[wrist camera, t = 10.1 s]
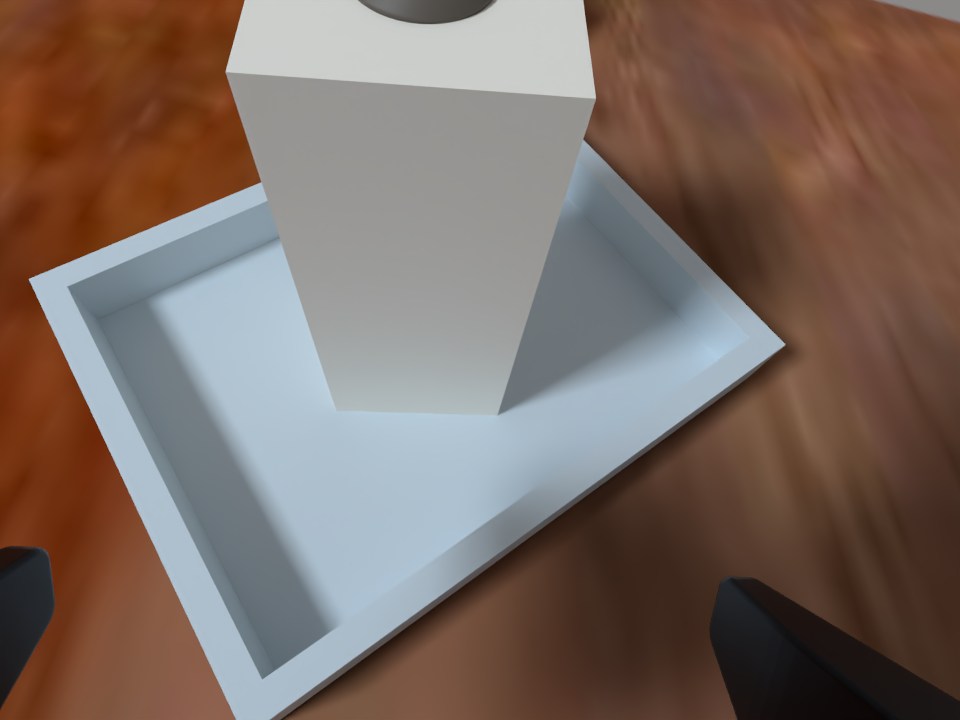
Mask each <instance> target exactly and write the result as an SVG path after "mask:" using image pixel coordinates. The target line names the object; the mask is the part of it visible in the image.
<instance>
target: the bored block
mask: <svg viewBox="0 0 960 720" xmlns="http://www.w3.org/2000/svg"><path fill="white" fill-rule="evenodd" d="M226 75H227V78H228V81H229V84H230V87H231V90H232V93H233V96H234V99H235V102H236V105H237V109H238V112H239V115H240V118H241V121H242V124H243V127H244V130H245V133H246V136H247V139H248V142H249V145H250V148H251V151H252V154H253V158H254V161H255V164H256V167H257V170H258V173H259V176H260V179H261V182H262V185H263V188H264V191H265V194H266V197H267V200H268V204H269V207H270V210H271V213H272V216H273V219H274V222H275V225H276V228H277V231H278V234H279V237H280V240H281V243H282V246H283V249H284V253H285V256H286V259H287V262H288V265H289V268H290V271H291V274H292V277H293V280H294V283H295V286H296V289H297V292H298V295H299V299H300V302H301V305H302V308H303V311H304V314H305V317H306V320H307V323H308V326H309V329H310V332H311V335H312V338H313V341H314V344H315V348H316V351H317V354H318V357H319V360H320V363H321V366H322V369H323V372H324V375H325V378H326V381H327V384H328V387H329V390H330V394H331V397H332V400H333V403H334V406H335V409H336V411H362V412H397V413H432V414H467V415H498V412H499V409H500V406H501V402H502V399H503V396H504V393H505V389H506V386H507V383H508V380H509V377H510V373H511V370H512V367H513V364H514V361H515V357H516V354H517V351H518V348H519V344H520V341H521V338H522V335H523V332H524V328H525V325H526V322H527V319H528V315H529V312H530V309H531V306H532V303H533V299H534V296H535V293H536V290H537V287H538V283H539V280H540V277H541V274H542V270H543V267H544V264H545V261H546V258H547V254H548V251H549V248H550V245H551V241H552V238H553V235H554V232H555V229H556V225H557V222H558V219H559V216H560V213H561V209H562V206H563V203H564V200H565V196H566V193H567V190H568V187H569V184H570V180H571V177H572V174H573V171H574V167H575V164H576V161H577V158H578V155H579V151H580V148H581V145H582V142H583V139H584V135H585V132H586V129H587V126H588V122H589V119H590V116H591V113H592V110H593V106H594V103H595V100H596V96H595V88H594V80H593V72H592V65H591V57H590V49H589V41H588V34H587V26H586V18H585V10H584V3H583V0H245V2H244V6H243V9H242V13H241V17H240V21H239V24H238V28H237V32H236V35H235V39H234V43H233V46H232V50H231V54H230V58H229V61H228V65H227V69H226Z"/></svg>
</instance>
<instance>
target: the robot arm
mask: <svg viewBox="0 0 960 720" xmlns="http://www.w3.org/2000/svg"><path fill="white" fill-rule="evenodd" d="M54 607H55V597H54V589H53V581H52V573H51V566H50V559H49V555H48V553H47V551H46V550H44V549H43V548H40V547H22V546H10V547H5V548H2V549H0V710H1V708H2V706H3V704H4V703H5V701H6V699H7V697H8V695H9V694H10V692H11V690H12V688H13V687H14V685H15V683H16V681H17V680H18V678H19V676H20V674H21V672H22V671H23V669H24V667H25V665H26V664H27V662H28V660H29V658H30V657H31V655H32V653H33V651H34V649H35V648H36V646H37V644H38V642H39V641H40V639H41V637H42V635H43V634H44V632H45V630H46V628H47V626H48V625H49V623H50V621H51V618H52V615H53V612H54ZM710 639H711V643H712V646H713V649H714V652H715V655H716V658H717V661H718V664H719V667H720V670H721V673H722V676H723V679H724V682H725V685H726V688H727V690H728V693H729V696H730V699H731V702H732V705H733V708H734V711H735V714H736V717H737V720H960V701H958V700H957V699H955V698H953V697H952V696H950V695H948V694H947V693H945V692H943V691H942V690H940V689H938V688H937V687H935V686H933V685H932V684H930V683H928V682H927V681H925V680H923V679H922V678H920V677H918V676H917V675H915V674H913V673H912V672H910V671H908V670H907V669H905V668H903V667H902V666H900V665H898V664H897V663H895V662H893V661H892V660H890V659H888V658H887V657H885V656H883V655H882V654H880V653H878V652H877V651H875V650H873V649H872V648H870V647H868V646H867V645H865V644H863V643H862V642H860V641H858V640H857V639H855V638H853V637H852V636H850V635H848V634H847V633H845V632H843V631H842V630H840V629H838V628H837V627H835V626H834V625H832V624H830V623H829V622H827V621H825V620H824V619H822V618H820V617H819V616H817V615H815V614H814V613H812V612H810V611H809V610H807V609H805V608H804V607H802V606H800V605H799V604H797V603H795V602H794V601H792V600H790V599H789V598H787V597H785V596H784V595H782V594H780V593H779V592H777V591H775V590H774V589H772V588H770V587H769V586H767V585H765V584H764V583H762V582H760V581H759V580H757V579H755V578H751V577H726V578H724V579H723V580H722V582H721V584H720V586H719V590H718V594H717V598H716V602H715V606H714V610H713V614H712V618H711V622H710Z"/></svg>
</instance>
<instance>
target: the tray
mask: <svg viewBox="0 0 960 720" xmlns="http://www.w3.org/2000/svg"><path fill="white" fill-rule="evenodd" d="M29 281H30V283H31V285H32V287H33V289H34V291H35V293H36V296H37V298H38V300H39V302H40V304H41V306H42V308H43V310H44V312H45V315H46V317H47V319H48V321H49V323H50V325H51V327H52V329H53V332H54V334H55V336H56V338H57V340H58V342H59V344H60V346H61V349H62V351H63V353H64V355H65V357H66V359H67V361H68V363H69V366H70V368H71V370H72V372H73V374H74V376H75V378H76V380H77V383H78V385H79V387H80V389H81V391H82V393H83V395H84V397H85V400H86V402H87V404H88V406H89V408H90V410H91V412H92V414H93V417H94V419H95V421H96V423H97V425H98V427H99V429H100V431H101V434H102V436H103V438H104V440H105V442H106V444H107V446H108V448H109V451H110V453H111V455H112V457H113V459H114V461H115V463H116V465H117V468H118V470H119V472H120V474H121V476H122V478H123V480H124V482H125V485H126V487H127V489H128V491H129V493H130V495H131V497H132V499H133V502H134V504H135V506H136V508H137V510H138V512H139V514H140V516H141V519H142V521H143V523H144V525H145V527H146V529H147V531H148V533H149V535H150V538H151V540H152V542H153V544H154V546H155V548H156V550H157V552H158V555H159V557H160V559H161V561H162V563H163V565H164V567H165V569H166V572H167V574H168V576H169V578H170V580H171V582H172V584H173V586H174V589H175V591H176V593H177V595H178V597H179V599H180V601H181V603H182V606H183V608H184V610H185V612H186V614H187V616H188V618H189V620H190V623H191V625H192V627H193V629H194V631H195V633H196V635H197V637H198V640H199V642H200V644H201V646H202V648H203V650H204V652H205V654H206V657H207V659H208V661H209V663H210V665H211V667H212V669H213V671H214V674H215V676H216V678H217V680H218V682H219V684H220V686H221V688H222V691H223V693H224V695H225V697H226V699H227V701H228V703H229V705H230V708H231V710H232V712H233V714H234V716H235V718H236V720H281V719H282V718H284V717H285V716H286V715H288V714H289V713H290V712H292V711H293V710H294V709H296V708H297V707H299V706H300V705H301V704H303V703H304V702H305V701H307V700H308V699H310V698H311V697H312V696H314V695H315V694H316V693H318V692H319V691H320V690H322V689H323V688H325V687H326V686H327V685H329V684H330V683H331V682H333V681H334V680H335V679H337V678H338V677H340V676H341V675H342V674H344V673H345V672H346V671H348V670H349V669H351V668H352V667H353V666H355V665H356V664H357V663H359V662H360V661H361V660H363V659H364V658H366V657H367V656H368V655H370V654H371V653H372V652H374V651H375V650H377V649H378V648H379V647H381V646H382V645H383V644H385V643H386V642H387V641H389V640H390V639H392V638H393V637H394V636H396V635H397V634H398V633H400V632H401V631H403V630H404V629H405V628H407V627H408V626H409V625H411V624H412V623H413V622H415V621H416V620H418V619H419V618H420V617H422V616H423V615H424V614H426V613H427V612H428V611H430V610H431V609H433V608H434V607H435V606H437V605H438V604H439V603H441V602H442V601H444V600H445V599H446V598H448V597H449V596H450V595H452V594H453V593H454V592H456V591H457V590H459V589H460V588H461V587H463V586H464V585H465V584H467V583H468V582H470V581H471V580H472V579H474V578H475V577H476V576H478V575H479V574H480V573H482V572H483V571H485V570H486V569H487V568H489V567H490V566H491V565H493V564H494V563H496V562H497V561H498V560H500V559H501V558H502V557H504V556H505V555H506V554H508V553H509V552H511V551H512V550H513V549H515V548H516V547H517V546H519V545H520V544H521V543H523V542H524V541H526V540H527V539H528V538H530V537H531V536H532V535H534V534H535V533H537V532H538V531H539V530H541V529H542V528H543V527H545V526H546V525H547V524H549V523H550V522H552V521H553V520H554V519H556V518H557V517H558V516H560V515H561V514H563V513H564V512H565V511H567V510H568V509H569V508H571V507H572V506H573V505H575V504H576V503H578V502H579V501H580V500H582V499H583V498H584V497H586V496H587V495H589V494H590V493H591V492H593V491H594V490H595V489H597V488H598V487H599V486H601V485H602V484H604V483H605V482H606V481H608V480H609V479H610V478H612V477H613V476H614V475H616V474H617V473H619V472H620V471H621V470H623V469H624V468H625V467H627V466H628V465H630V464H631V463H632V462H634V461H635V460H636V459H638V458H639V457H640V456H642V455H643V454H645V453H646V452H647V451H649V450H650V449H651V448H653V447H654V446H656V445H657V444H658V443H660V442H661V441H662V440H664V439H665V438H666V437H668V436H669V435H671V434H672V433H673V432H675V431H676V430H677V429H679V428H680V427H681V426H683V425H684V424H686V423H687V422H688V421H690V420H691V419H692V418H694V417H695V416H697V415H698V414H699V413H701V412H702V411H703V410H705V409H706V408H707V407H709V406H710V405H712V404H713V403H714V402H716V401H717V400H718V399H720V398H721V397H723V396H724V395H725V394H727V393H728V392H729V391H731V390H732V389H733V388H735V387H736V386H738V385H739V384H740V383H742V382H743V381H744V380H746V379H747V378H748V377H749V376H751V375H752V374H753V373H754V372H755V371H756V370H757V369H759V368H760V367H761V366H762V365H763V364H764V363H765V362H767V361H768V360H769V359H770V358H771V357H772V356H773V355H775V354H776V353H777V352H778V351H779V350H780V349H781V348H782V347H784V346H785V345H786V344H785V343H784V342H783V341H782V340H781V339H780V338H779V337H778V336H777V335H776V334H775V333H774V332H773V331H772V330H771V329H770V328H769V327H768V326H767V325H766V324H765V323H764V322H763V321H762V320H761V319H760V318H759V317H758V316H757V315H756V314H755V313H754V312H753V311H752V310H751V309H750V308H749V307H748V306H747V305H746V304H745V303H744V302H743V301H742V300H741V299H740V298H739V297H738V296H737V295H736V294H735V293H734V292H733V291H732V290H731V289H730V288H729V287H728V286H727V285H726V284H725V283H724V282H723V281H722V280H721V279H720V278H719V277H718V276H717V275H716V274H715V273H714V272H713V271H712V270H711V269H710V268H709V266H708V265H707V264H706V263H705V262H704V261H703V260H702V259H701V258H700V257H699V256H698V255H697V254H696V253H695V252H694V251H693V250H692V249H691V248H690V247H689V246H688V245H687V244H686V243H685V242H684V241H683V240H682V239H681V238H680V237H679V236H678V235H677V234H676V233H675V232H674V231H673V230H672V229H671V228H670V227H669V226H668V225H667V224H666V223H665V222H664V221H663V220H662V219H661V218H660V217H659V216H658V215H657V214H656V213H655V212H654V211H653V210H652V209H651V208H650V207H649V206H648V205H647V204H646V203H645V202H644V201H643V200H642V199H641V198H640V197H639V196H638V195H637V194H636V193H635V192H634V191H633V190H632V188H631V187H630V186H629V185H628V184H627V183H626V182H625V181H624V180H623V179H622V178H621V177H620V176H619V175H618V174H617V173H616V172H615V171H614V170H613V169H612V168H611V167H610V166H609V165H608V164H607V163H606V162H605V161H604V160H603V159H602V158H601V157H600V156H599V155H598V154H597V153H596V152H595V151H594V150H593V149H592V148H591V147H590V146H589V145H588V144H587V143H586V142H585V141H584V140H583V142H582V145H581V148H580V151H579V155H578V158H577V161H576V164H575V167H574V171H573V174H572V177H571V180H570V184H569V187H568V190H567V193H566V196H565V200H564V203H563V206H562V209H561V213H560V216H559V219H558V222H557V225H556V229H555V232H554V235H553V238H552V241H551V245H550V248H549V251H548V254H547V258H546V261H545V264H544V267H543V270H542V274H541V277H540V280H539V283H538V287H537V290H536V293H535V296H534V299H533V303H532V306H531V309H530V312H529V315H528V319H527V322H526V325H525V328H524V332H523V335H522V338H521V341H520V344H519V348H518V351H517V354H516V357H515V361H514V364H513V367H512V370H511V373H510V377H509V380H508V383H507V386H506V389H505V393H504V396H503V399H502V402H501V406H500V409H499V412H498V415H467V414H432V413H397V412H362V411H336V409H335V406H334V403H333V400H332V397H331V394H330V390H329V387H328V384H327V381H326V378H325V375H324V372H323V369H322V366H321V363H320V360H319V357H318V354H317V351H316V348H315V344H314V341H313V338H312V335H311V332H310V329H309V326H308V323H307V320H306V317H305V314H304V311H303V308H302V305H301V302H300V299H299V295H298V292H297V289H296V286H295V283H294V280H293V277H292V274H291V271H290V268H289V265H288V262H287V259H286V256H285V253H284V249H283V246H282V243H281V240H280V237H279V234H278V231H277V228H276V225H275V222H274V219H273V216H272V213H271V210H270V207H269V204H268V200H267V197H266V194H265V191H264V188H263V185H262V182H261V183H259V184H256V185H254V186H252V187H249V188H247V189H244V190H242V191H240V192H237V193H235V194H232V195H230V196H228V197H225V198H223V199H220V200H218V201H216V202H213V203H211V204H208V205H206V206H203V207H201V208H199V209H196V210H194V211H191V212H189V213H187V214H184V215H182V216H179V217H177V218H175V219H172V220H170V221H167V222H165V223H163V224H160V225H158V226H155V227H153V228H151V229H148V230H146V231H143V232H141V233H139V234H136V235H134V236H131V237H129V238H127V239H124V240H122V241H119V242H117V243H115V244H112V245H110V246H107V247H105V248H103V249H100V250H98V251H95V252H93V253H91V254H88V255H86V256H83V257H81V258H78V259H76V260H74V261H71V262H69V263H66V264H64V265H62V266H59V267H57V268H54V269H52V270H50V271H47V272H45V273H42V274H40V275H38V276H35V277H33V278H30V279H29Z"/></svg>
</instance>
